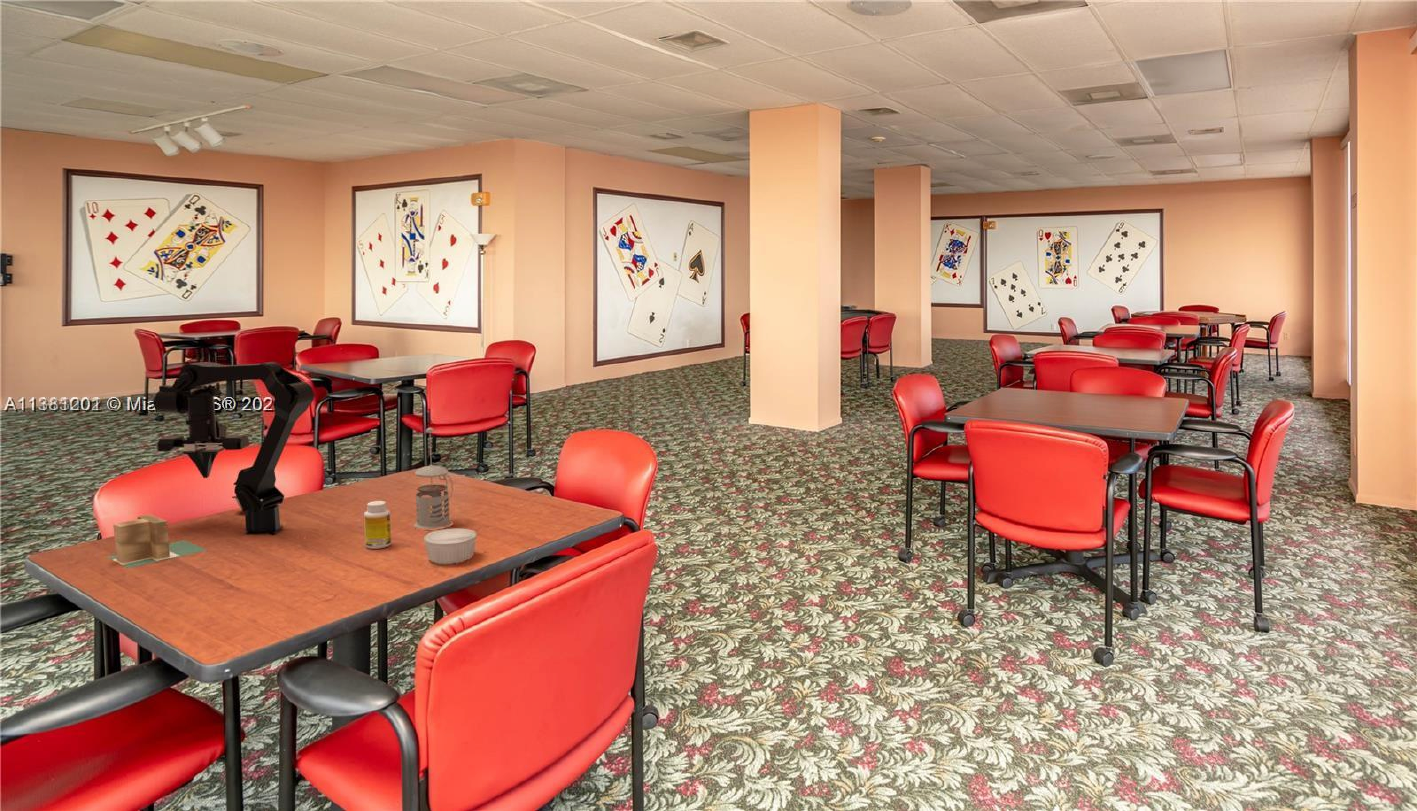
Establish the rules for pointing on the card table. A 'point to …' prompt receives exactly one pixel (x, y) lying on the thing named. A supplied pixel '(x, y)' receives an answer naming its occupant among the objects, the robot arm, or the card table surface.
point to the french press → (424, 503)
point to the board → (175, 551)
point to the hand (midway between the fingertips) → (206, 477)
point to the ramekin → (450, 545)
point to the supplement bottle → (377, 525)
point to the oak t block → (141, 539)
